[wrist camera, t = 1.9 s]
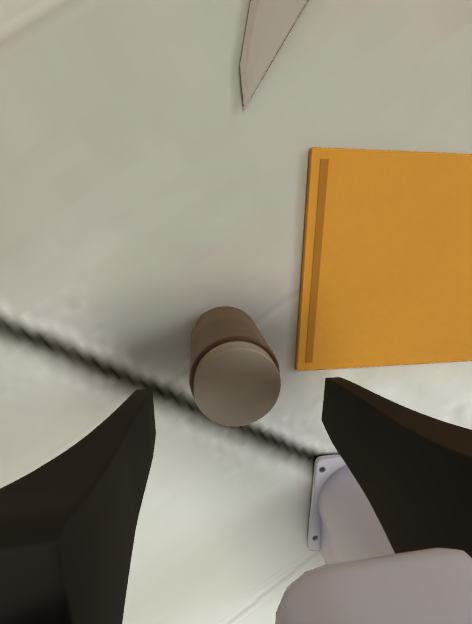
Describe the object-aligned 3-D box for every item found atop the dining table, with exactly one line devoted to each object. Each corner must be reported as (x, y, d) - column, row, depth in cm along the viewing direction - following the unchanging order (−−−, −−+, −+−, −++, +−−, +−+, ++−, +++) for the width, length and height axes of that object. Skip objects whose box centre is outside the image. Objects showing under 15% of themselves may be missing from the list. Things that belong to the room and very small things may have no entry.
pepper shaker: (256, 367, 20) (283, 426, 14) (192, 370, 20) (190, 434, 14) (258, 305, 19) (287, 341, 13) (189, 307, 19) (186, 346, 12)
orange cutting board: (537, 354, 23) (544, 357, 23) (295, 368, 21) (297, 371, 20) (596, 161, 20) (605, 159, 19) (309, 148, 17) (312, 146, 17)
